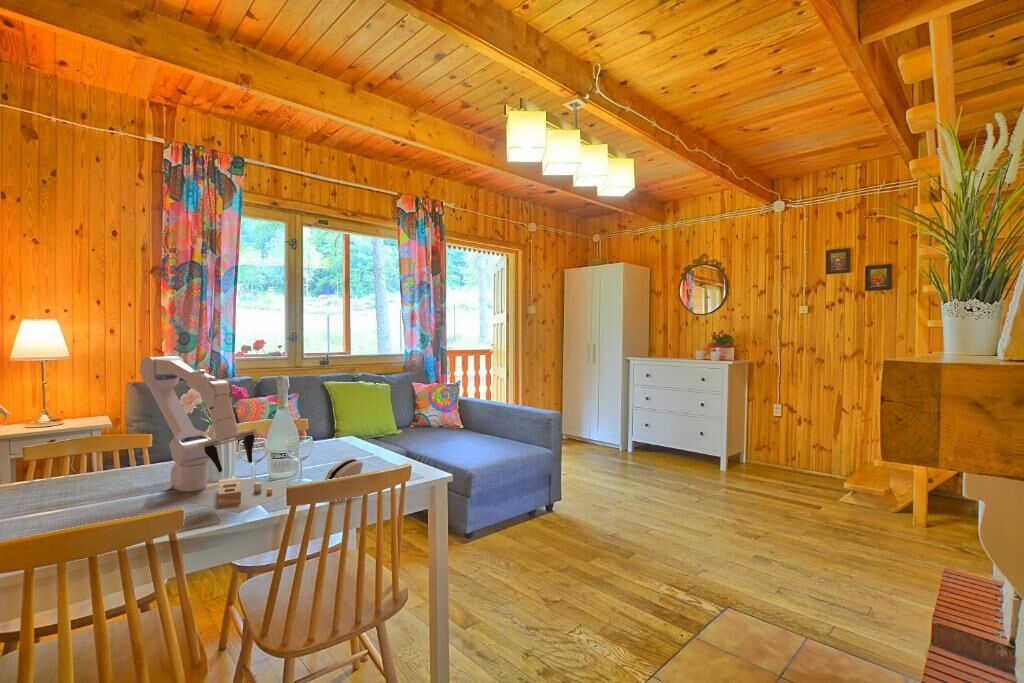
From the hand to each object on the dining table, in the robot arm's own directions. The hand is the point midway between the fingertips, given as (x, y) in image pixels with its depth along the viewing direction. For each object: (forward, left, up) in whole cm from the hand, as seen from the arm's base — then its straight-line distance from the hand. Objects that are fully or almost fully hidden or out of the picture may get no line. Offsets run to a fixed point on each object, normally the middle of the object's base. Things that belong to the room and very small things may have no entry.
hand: (235, 467), depth 140 cm
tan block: (-2, 0, -9) cm, 9 cm away
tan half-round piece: (+18, +23, -10) cm, 31 cm away
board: (0, +3, -10) cm, 10 cm away
